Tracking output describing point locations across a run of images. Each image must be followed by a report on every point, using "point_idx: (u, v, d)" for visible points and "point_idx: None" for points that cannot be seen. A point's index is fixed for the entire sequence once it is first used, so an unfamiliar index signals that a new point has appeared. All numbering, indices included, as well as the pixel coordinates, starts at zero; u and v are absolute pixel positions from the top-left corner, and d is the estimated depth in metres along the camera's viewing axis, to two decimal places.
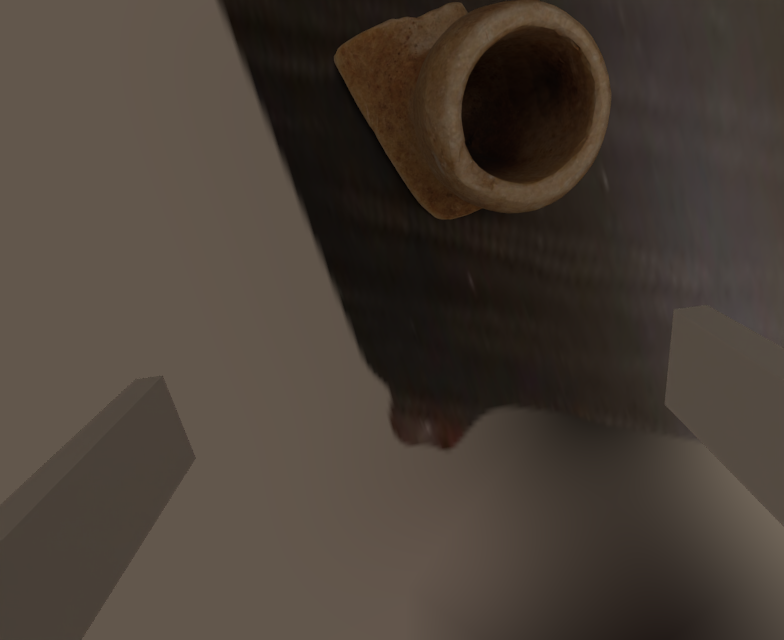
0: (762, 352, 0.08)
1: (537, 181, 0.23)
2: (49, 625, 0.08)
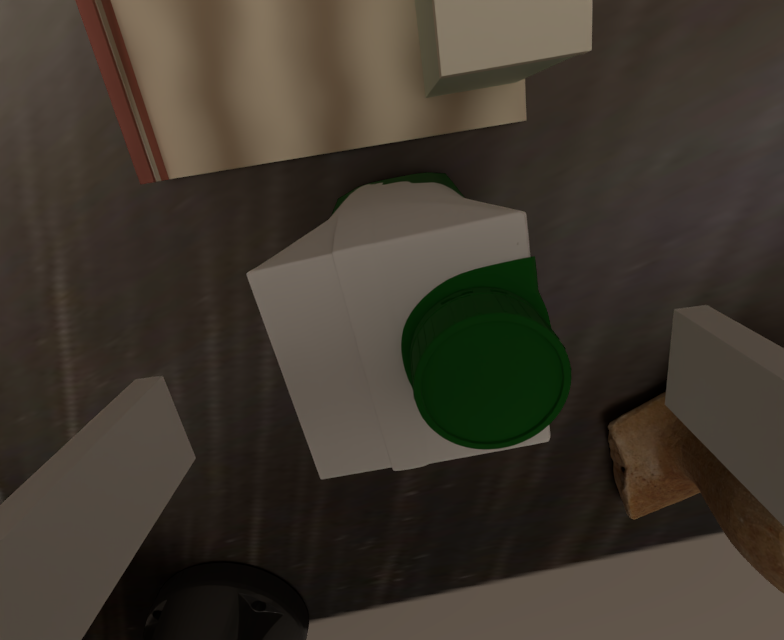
0: (762, 352, 0.08)
1: None
2: (49, 625, 0.08)
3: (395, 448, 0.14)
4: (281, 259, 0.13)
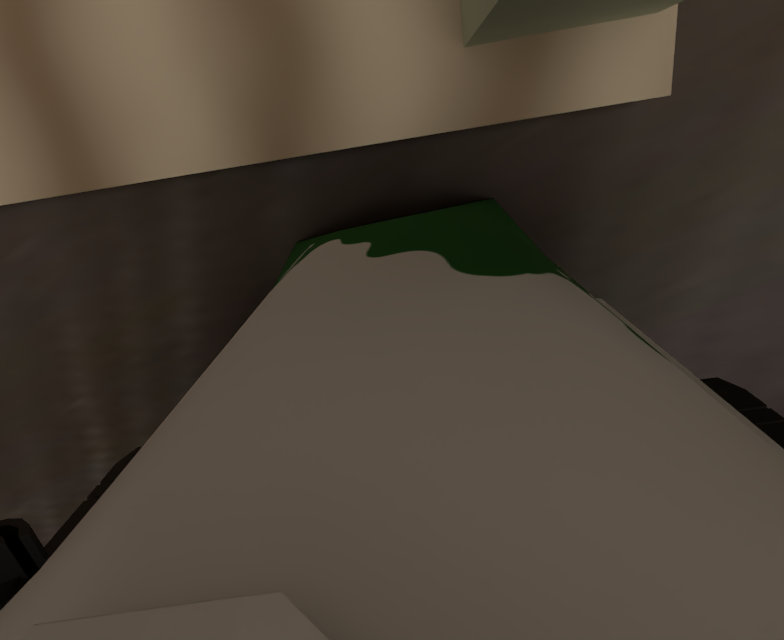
0: None
1: None
2: None
3: None
4: None
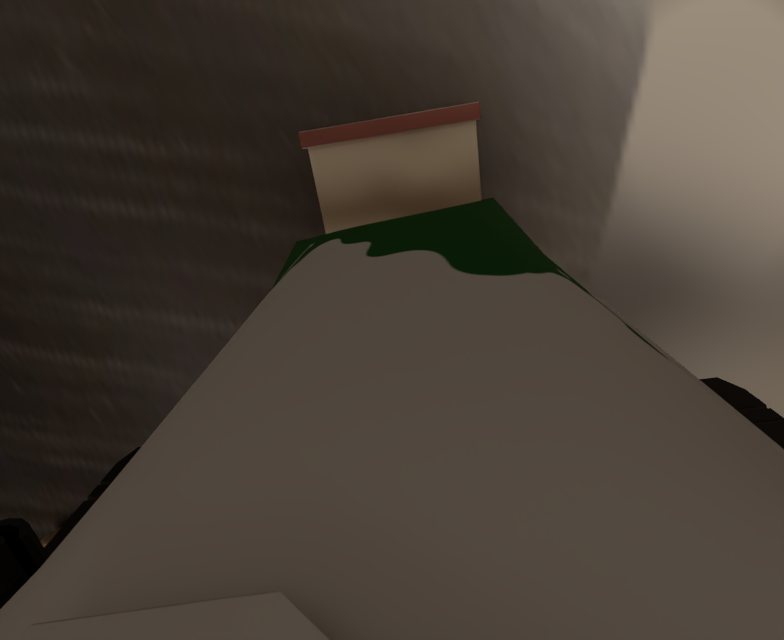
0: None
1: None
2: None
3: None
4: None
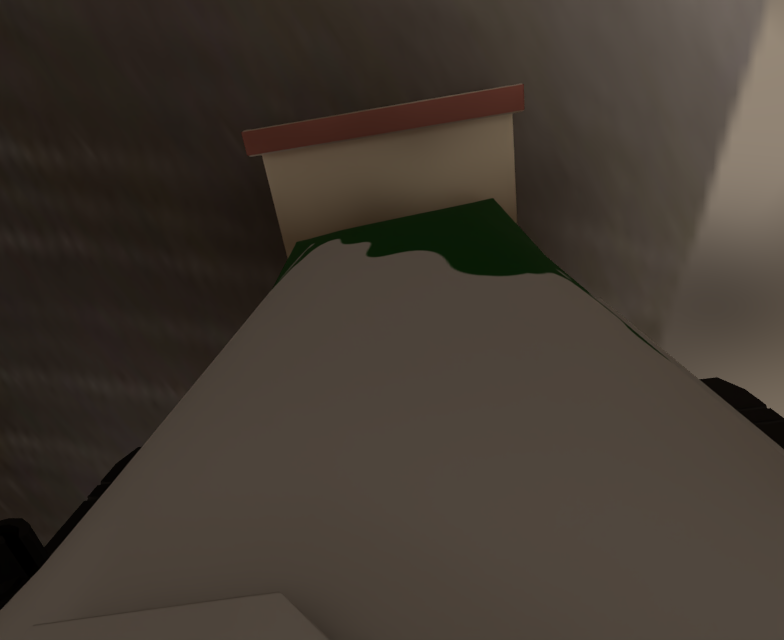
0: None
1: None
2: None
3: None
4: None
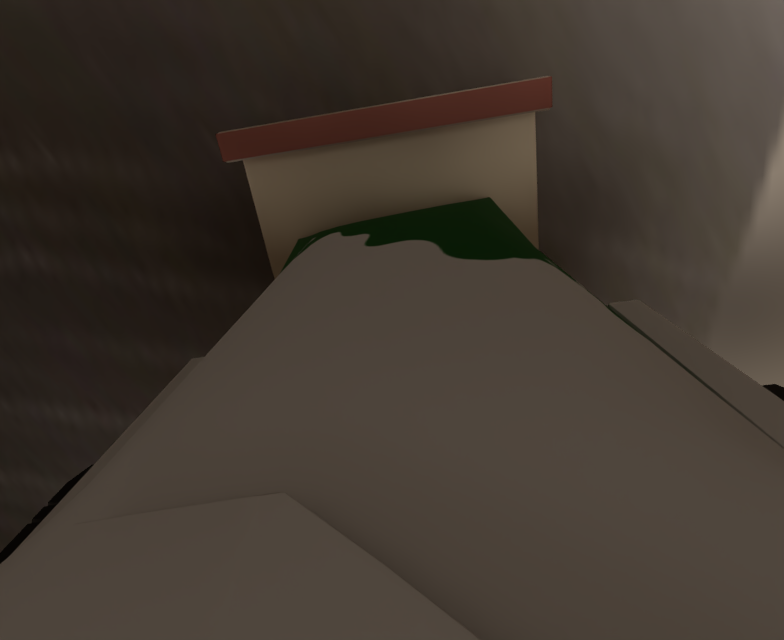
0: (673, 341, 0.09)
1: None
2: None
3: None
4: None
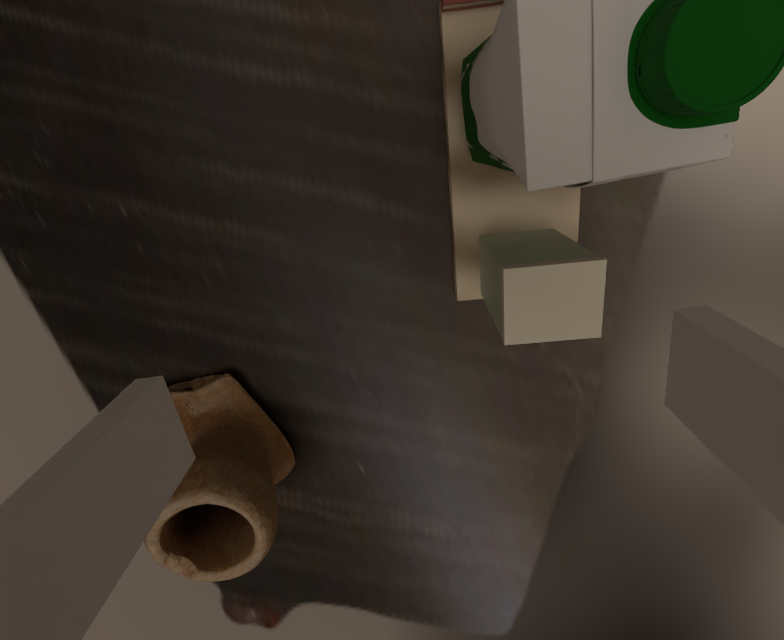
0: (762, 352, 0.08)
1: (226, 568, 0.35)
2: (49, 625, 0.08)
3: (602, 155, 0.17)
4: None
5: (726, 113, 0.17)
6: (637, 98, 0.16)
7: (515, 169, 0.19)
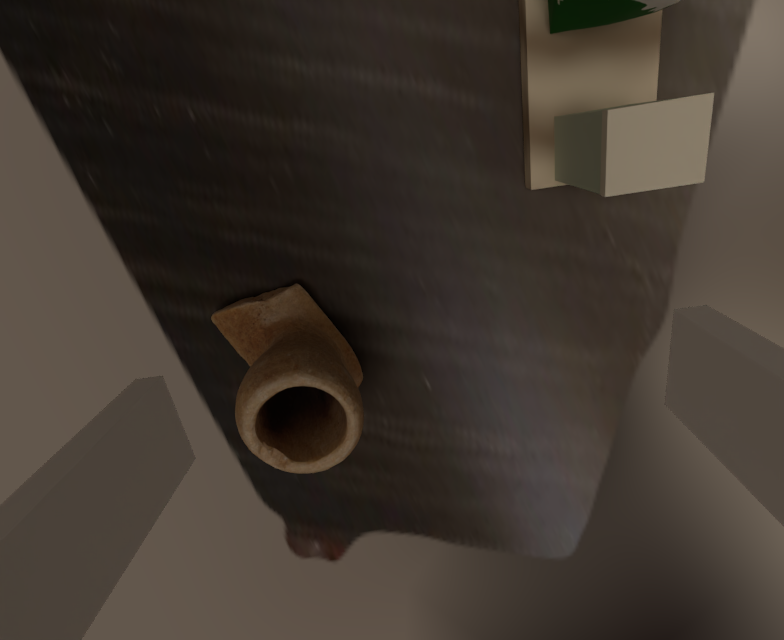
0: (762, 352, 0.08)
1: (317, 459, 0.35)
2: (49, 625, 0.08)
3: None
4: None
5: None
6: None
7: None
